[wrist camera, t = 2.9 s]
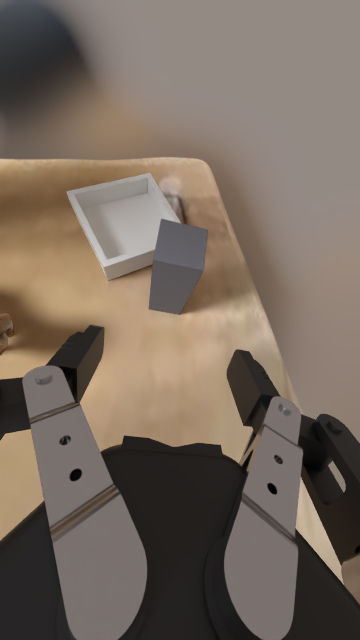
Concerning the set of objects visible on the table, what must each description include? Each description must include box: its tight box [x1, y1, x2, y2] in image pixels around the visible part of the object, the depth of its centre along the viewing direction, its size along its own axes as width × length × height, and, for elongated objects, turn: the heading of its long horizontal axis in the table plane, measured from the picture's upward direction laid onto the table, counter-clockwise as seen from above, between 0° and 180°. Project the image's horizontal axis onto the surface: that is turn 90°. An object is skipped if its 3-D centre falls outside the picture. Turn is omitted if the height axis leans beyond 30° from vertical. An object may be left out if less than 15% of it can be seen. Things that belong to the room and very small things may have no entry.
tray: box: [66, 173, 181, 281], centre depth 29 cm, size 13×13×4 cm
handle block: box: [149, 219, 208, 315], centre depth 23 cm, size 4×4×12 cm
